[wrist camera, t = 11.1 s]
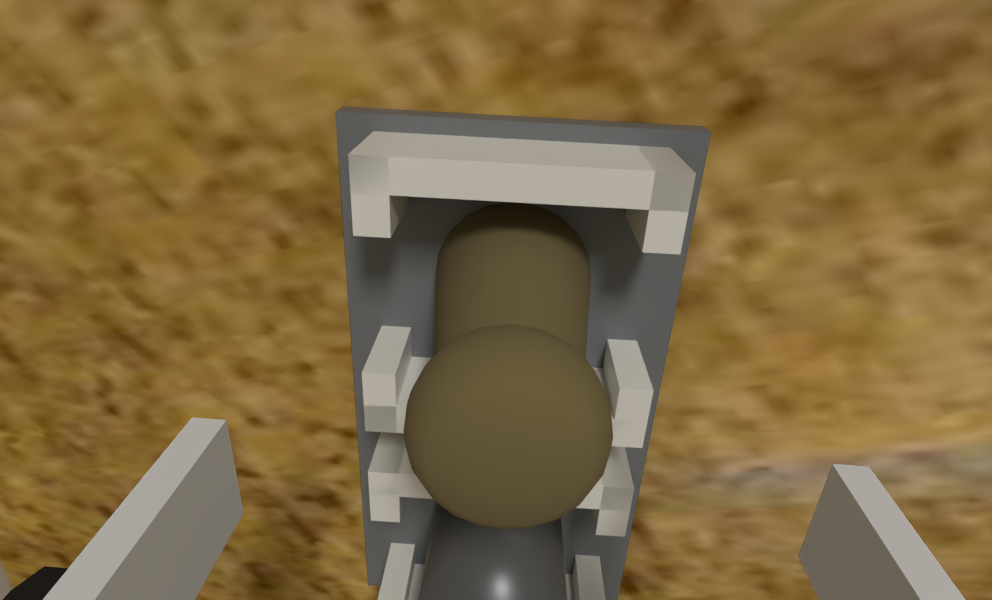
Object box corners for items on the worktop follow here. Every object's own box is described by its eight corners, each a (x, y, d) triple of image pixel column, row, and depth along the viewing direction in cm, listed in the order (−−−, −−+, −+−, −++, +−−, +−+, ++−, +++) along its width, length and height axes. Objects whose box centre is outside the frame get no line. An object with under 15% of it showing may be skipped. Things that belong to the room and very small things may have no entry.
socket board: (703, 126, 22) (791, 189, 15) (614, 584, 33) (640, 750, 25) (343, 107, 22) (256, 159, 15) (372, 568, 33) (330, 728, 26)
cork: (464, 359, 25) (428, 587, 16) (412, 227, 23) (330, 399, 13) (606, 323, 24) (664, 543, 15) (568, 181, 22) (607, 330, 12)
